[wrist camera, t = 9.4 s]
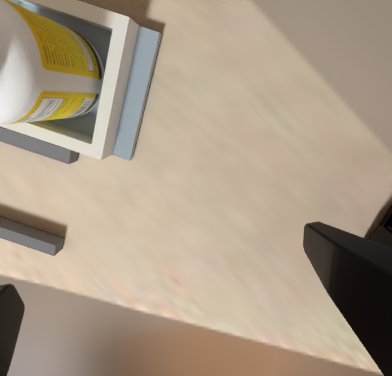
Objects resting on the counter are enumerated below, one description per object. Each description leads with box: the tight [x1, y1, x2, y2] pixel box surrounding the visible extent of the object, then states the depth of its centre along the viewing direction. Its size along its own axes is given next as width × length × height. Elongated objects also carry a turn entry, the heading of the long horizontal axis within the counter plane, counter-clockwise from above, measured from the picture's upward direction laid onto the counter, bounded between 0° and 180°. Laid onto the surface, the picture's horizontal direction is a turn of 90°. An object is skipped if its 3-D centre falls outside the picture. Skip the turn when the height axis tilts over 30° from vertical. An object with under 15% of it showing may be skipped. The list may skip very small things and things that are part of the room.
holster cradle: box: [0, 126, 79, 256], centre depth 21 cm, size 9×9×1 cm
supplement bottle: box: [0, 0, 105, 125], centre depth 13 cm, size 5×5×10 cm
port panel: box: [0, 0, 162, 161], centre depth 17 cm, size 11×8×2 cm
